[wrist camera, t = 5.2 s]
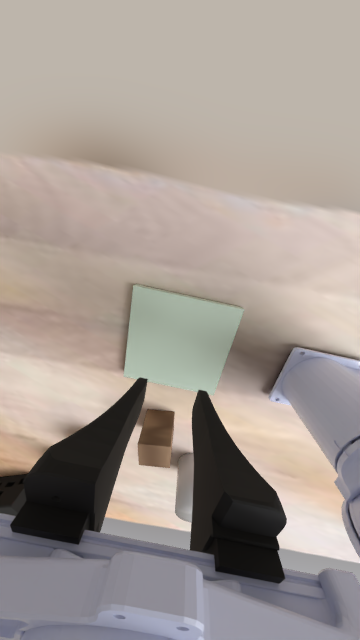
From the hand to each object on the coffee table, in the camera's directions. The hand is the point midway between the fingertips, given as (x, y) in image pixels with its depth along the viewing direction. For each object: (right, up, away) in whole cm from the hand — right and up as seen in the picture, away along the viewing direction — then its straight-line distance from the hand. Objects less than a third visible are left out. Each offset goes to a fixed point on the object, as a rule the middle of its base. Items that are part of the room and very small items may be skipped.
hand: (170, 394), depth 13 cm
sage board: (+1, +3, +8) cm, 8 cm away
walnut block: (-2, -10, +13) cm, 16 cm away
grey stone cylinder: (+3, -19, +16) cm, 25 cm away
